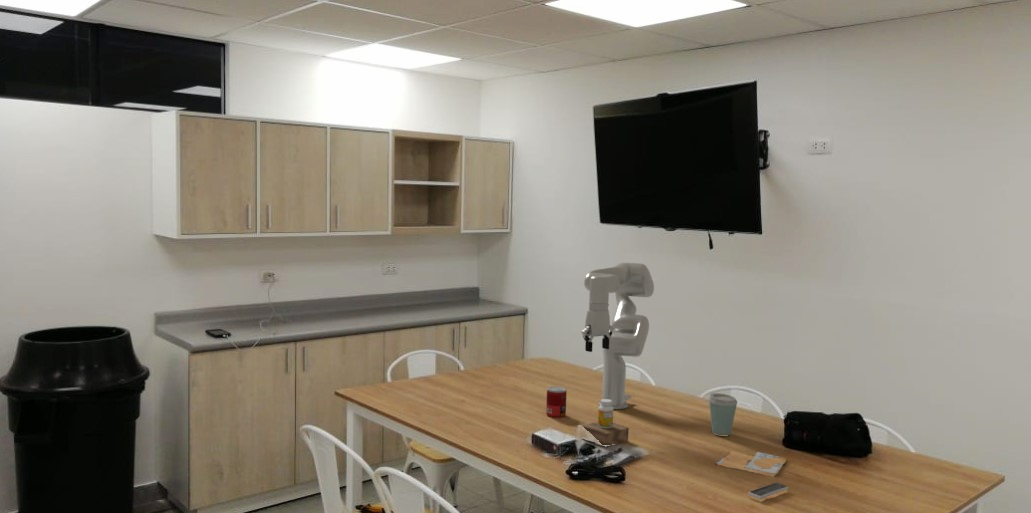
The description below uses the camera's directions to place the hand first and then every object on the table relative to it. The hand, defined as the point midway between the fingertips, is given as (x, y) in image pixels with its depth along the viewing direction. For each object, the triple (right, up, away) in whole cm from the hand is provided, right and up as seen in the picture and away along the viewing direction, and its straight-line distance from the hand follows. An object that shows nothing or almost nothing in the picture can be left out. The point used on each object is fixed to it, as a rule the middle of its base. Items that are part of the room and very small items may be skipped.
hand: (597, 349), depth 309 cm
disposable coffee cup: (+46, -31, -13) cm, 57 cm away
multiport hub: (+44, -36, -73) cm, 92 cm away
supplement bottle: (0, -25, -23) cm, 35 cm away
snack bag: (+48, -34, -44) cm, 73 cm away
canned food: (-16, -28, +8) cm, 33 cm away
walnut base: (0, -30, -23) cm, 38 cm away
